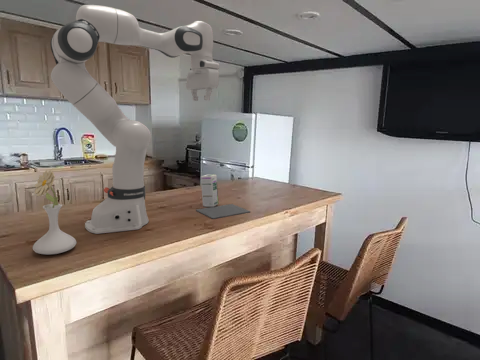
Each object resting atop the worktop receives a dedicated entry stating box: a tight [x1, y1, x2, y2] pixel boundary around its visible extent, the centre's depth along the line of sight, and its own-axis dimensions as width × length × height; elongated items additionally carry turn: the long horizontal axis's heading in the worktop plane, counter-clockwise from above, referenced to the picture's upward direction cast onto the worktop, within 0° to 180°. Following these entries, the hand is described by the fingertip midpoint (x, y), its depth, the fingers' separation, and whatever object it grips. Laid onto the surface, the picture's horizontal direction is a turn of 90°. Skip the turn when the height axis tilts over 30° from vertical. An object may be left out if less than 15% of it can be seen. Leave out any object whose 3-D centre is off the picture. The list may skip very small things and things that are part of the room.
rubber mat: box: [195, 203, 251, 220], centre depth 143 cm, size 20×14×1 cm
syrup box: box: [200, 173, 219, 208], centre depth 150 cm, size 6×6×14 cm
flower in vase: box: [32, 169, 77, 255], centre depth 93 cm, size 13×11×25 cm
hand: (201, 100), depth 132 cm, fingers open, 8 cm apart
